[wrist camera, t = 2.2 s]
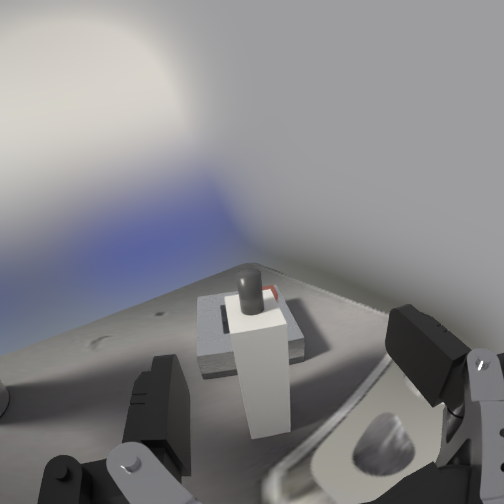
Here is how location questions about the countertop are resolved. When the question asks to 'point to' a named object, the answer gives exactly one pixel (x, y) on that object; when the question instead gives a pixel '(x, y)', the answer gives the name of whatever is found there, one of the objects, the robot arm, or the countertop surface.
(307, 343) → the countertop surface
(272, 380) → the plug
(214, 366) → the socket box
